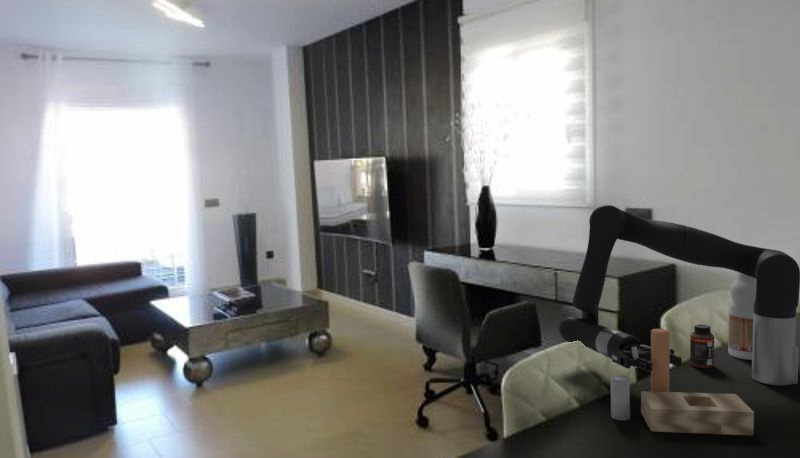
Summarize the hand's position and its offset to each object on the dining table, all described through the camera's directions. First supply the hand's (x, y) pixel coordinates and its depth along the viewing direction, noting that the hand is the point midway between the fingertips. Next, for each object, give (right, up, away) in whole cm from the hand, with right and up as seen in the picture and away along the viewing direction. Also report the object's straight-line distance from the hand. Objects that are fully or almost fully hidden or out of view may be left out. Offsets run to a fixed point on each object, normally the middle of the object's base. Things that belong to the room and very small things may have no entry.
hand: (666, 364), depth 138 cm
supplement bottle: (+23, -7, +29) cm, 37 cm away
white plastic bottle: (+39, -6, +36) cm, 54 cm away
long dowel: (0, -10, +3) cm, 11 cm away
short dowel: (-11, -11, -2) cm, 16 cm away
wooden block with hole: (+4, -11, -7) cm, 14 cm away
